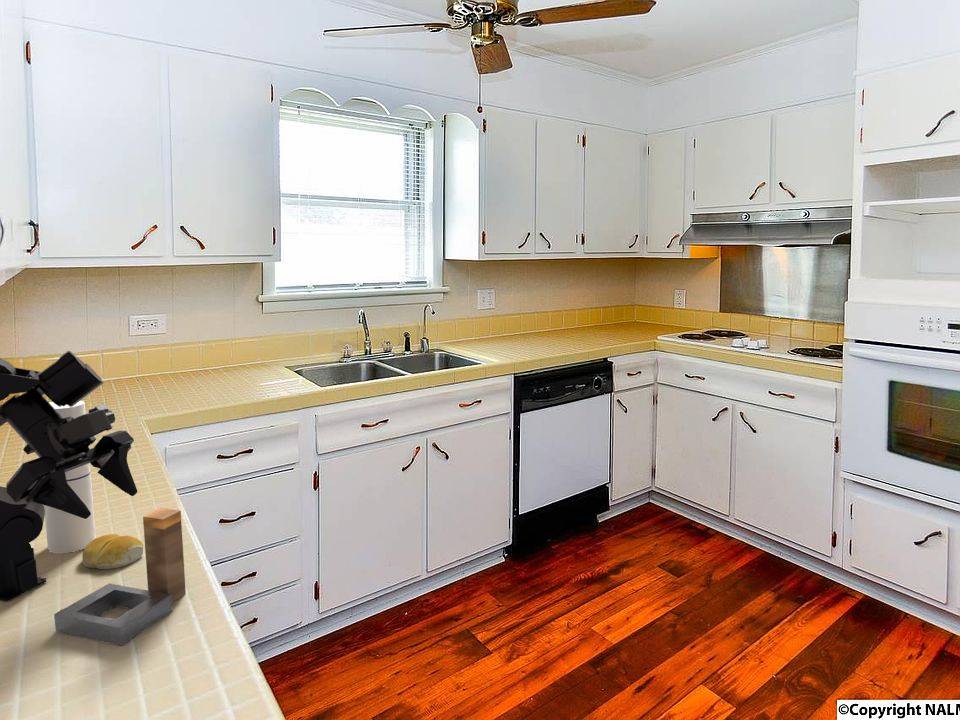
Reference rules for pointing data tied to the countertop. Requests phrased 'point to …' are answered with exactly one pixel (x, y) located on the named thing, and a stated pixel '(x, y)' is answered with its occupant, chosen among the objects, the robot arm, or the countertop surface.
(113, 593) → the grey rectangular frame
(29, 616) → the countertop surface
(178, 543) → the walnut pin
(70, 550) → the cylindrical container
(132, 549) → the bread roll
